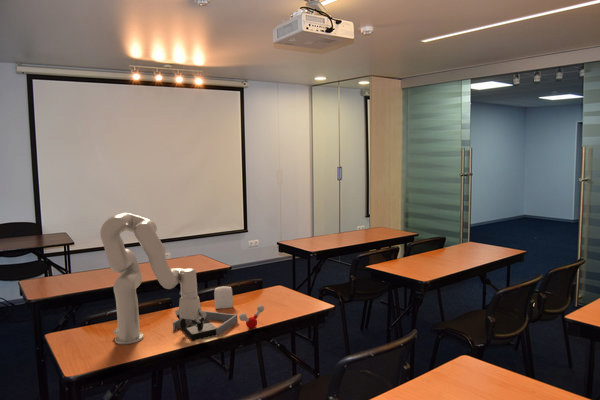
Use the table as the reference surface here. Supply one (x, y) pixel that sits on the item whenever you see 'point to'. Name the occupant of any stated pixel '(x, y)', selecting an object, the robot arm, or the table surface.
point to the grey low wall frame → (228, 318)
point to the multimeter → (194, 334)
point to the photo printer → (223, 297)
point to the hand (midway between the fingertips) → (191, 329)
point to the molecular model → (251, 321)
